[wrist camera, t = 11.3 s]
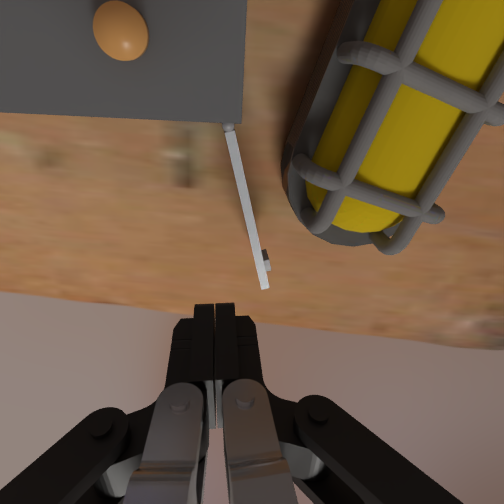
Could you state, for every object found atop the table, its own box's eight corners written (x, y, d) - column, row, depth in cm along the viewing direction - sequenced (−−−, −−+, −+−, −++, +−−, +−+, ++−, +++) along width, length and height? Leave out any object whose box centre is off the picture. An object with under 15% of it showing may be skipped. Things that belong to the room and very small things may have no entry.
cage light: (696, -133, 20) (414, 285, 33) (570, -85, 27) (378, 245, 40) (504, -300, 16) (271, 245, 29) (416, -194, 23) (258, 209, 36)
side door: (252, 251, 37) (261, 289, 31) (218, 107, 30) (221, 121, 24) (264, 248, 37) (276, 286, 31) (233, 103, 30) (240, 116, 24)
